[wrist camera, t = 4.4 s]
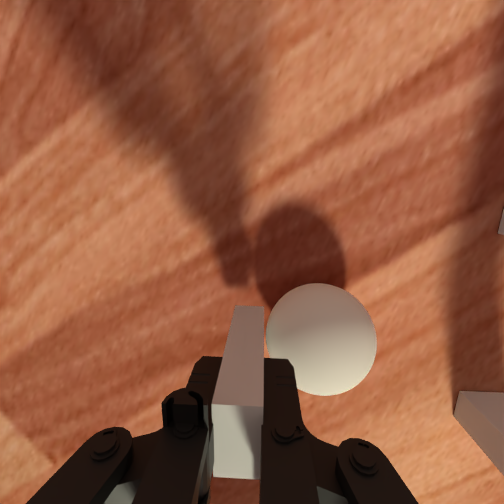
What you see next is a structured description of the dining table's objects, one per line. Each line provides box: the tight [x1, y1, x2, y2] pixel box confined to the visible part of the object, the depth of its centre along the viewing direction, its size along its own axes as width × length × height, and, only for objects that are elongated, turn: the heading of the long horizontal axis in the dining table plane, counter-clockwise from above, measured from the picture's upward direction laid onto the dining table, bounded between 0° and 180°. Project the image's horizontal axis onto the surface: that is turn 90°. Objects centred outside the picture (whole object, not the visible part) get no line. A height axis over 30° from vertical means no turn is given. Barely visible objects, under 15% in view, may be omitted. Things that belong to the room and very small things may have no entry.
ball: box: [266, 283, 377, 396], centre depth 14 cm, size 6×6×6 cm
